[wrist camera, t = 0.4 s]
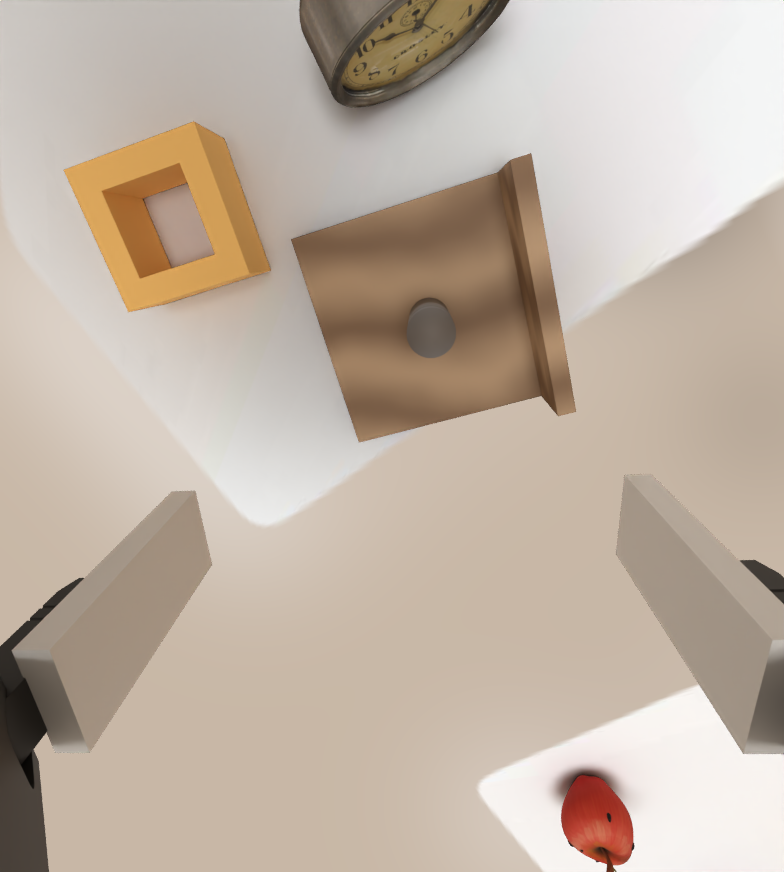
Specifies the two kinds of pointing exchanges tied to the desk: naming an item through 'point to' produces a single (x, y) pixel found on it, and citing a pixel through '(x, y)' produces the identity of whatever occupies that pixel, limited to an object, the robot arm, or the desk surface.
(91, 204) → the orange square frame
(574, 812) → the apple
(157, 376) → the desk surface
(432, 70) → the alarm clock
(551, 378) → the hook board
